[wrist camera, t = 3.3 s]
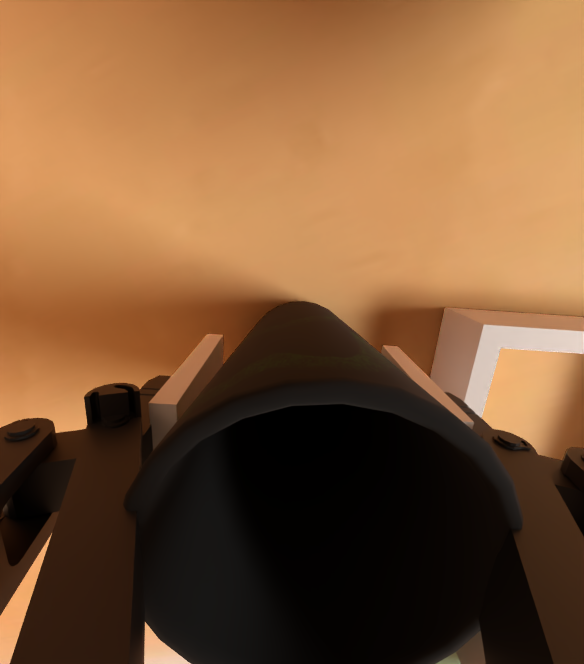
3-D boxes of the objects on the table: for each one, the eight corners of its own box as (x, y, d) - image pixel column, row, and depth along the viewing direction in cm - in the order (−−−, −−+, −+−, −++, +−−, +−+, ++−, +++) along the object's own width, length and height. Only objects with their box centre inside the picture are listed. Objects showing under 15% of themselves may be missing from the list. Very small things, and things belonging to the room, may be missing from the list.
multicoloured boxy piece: (435, 306, 17) (559, 364, 9) (689, 324, 17) (1010, 393, 10) (370, 621, 24) (410, 805, 16) (553, 628, 24) (677, 811, 16)
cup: (254, 426, 19) (201, 724, 7) (209, 304, 17) (33, 454, 5) (381, 393, 18) (541, 658, 7) (352, 263, 16) (509, 327, 5)
